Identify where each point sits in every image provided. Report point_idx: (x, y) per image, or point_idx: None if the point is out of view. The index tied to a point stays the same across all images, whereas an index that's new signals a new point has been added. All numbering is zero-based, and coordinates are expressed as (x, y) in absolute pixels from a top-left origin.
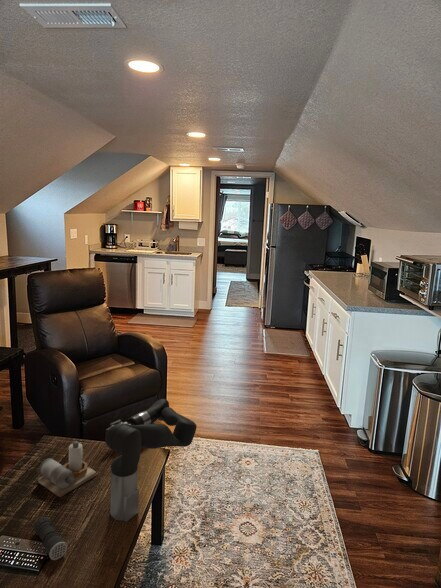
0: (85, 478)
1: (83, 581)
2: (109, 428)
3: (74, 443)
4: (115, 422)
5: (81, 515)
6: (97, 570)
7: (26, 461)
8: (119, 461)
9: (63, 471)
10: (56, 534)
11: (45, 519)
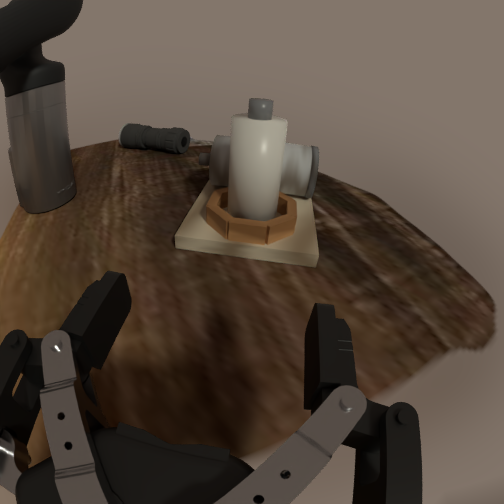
0: (190, 210)
1: (85, 146)
2: (328, 338)
3: (259, 99)
4: (398, 482)
5: (133, 174)
6: (72, 153)
7: (412, 227)
8: (45, 58)
9: (226, 136)
10: (139, 128)
11: (173, 129)
